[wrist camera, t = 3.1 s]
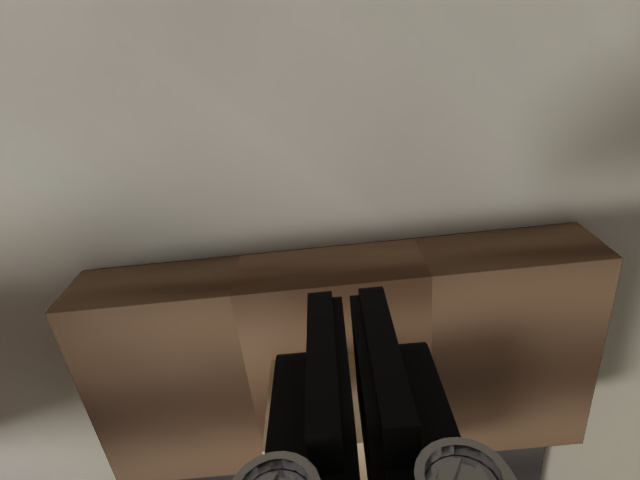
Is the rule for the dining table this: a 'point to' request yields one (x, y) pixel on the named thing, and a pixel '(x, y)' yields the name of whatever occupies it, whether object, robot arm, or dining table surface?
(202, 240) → the dining table surface
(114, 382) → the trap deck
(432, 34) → the dining table surface
